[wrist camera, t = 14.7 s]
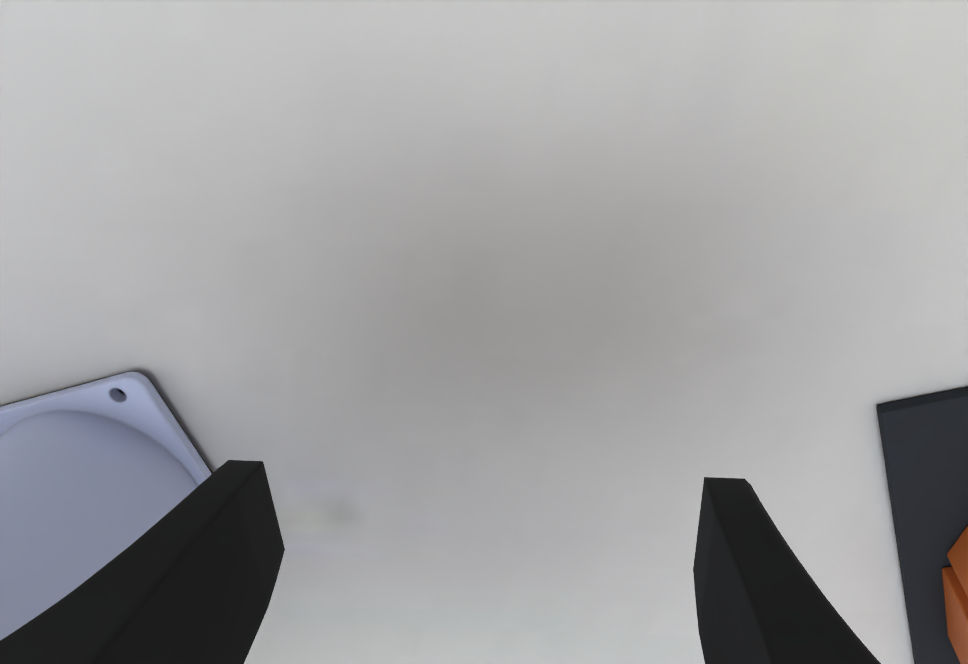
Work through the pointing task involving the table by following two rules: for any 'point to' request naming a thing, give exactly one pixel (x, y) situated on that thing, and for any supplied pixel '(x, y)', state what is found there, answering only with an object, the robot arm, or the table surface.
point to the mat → (927, 506)
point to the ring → (957, 596)
